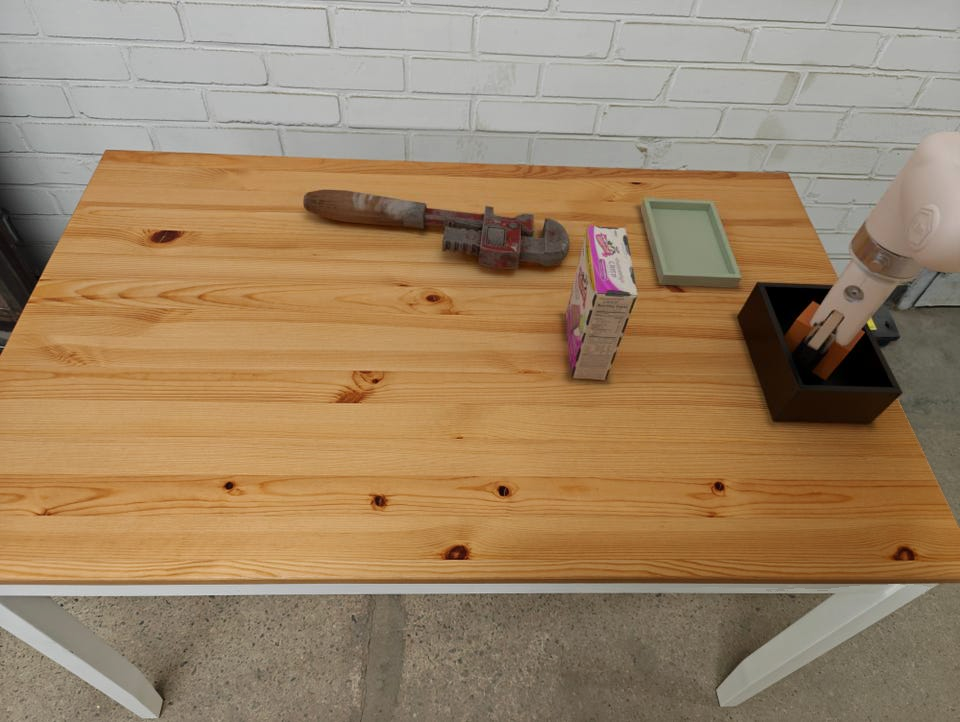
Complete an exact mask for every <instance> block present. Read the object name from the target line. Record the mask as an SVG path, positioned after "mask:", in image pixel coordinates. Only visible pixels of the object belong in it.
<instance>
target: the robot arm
mask: <svg viewBox="0 0 960 722" xmlns="http://www.w3.org/2000/svg"><path fill="white" fill-rule="evenodd" d="M848 252H849V255H850V257H851V260H850V261H849V263H848V264H847V265H846V267H845V268H844V269H843V271H842V273H841V274H840V275H839V277H838V278H836V281H835V282H834V284H832V285H833V287H832V288H831V290H830V291H829V293H828V294H827V296H826V297H825V299H824V300H823V302H822V303H821V305H820V306H819V308H818V310H817V311H816V313H815V314H814V316H813V318H812V319H811V321H810V325H811V327H813V326H814V328H813V329H812V330H811V332H810V333H809V334H808V335H807V337H806V336H805V337H804V338H803V339H802V341H801V342H800V343H799V345H798V346H797V347H796V349H795V350H794V351H793V353H792V354H791V355H792V358H793V360H794V362H796V363H797V364H799V365H801V366H802V367H804V368H805V369H807V370H808V371H813V370H814V369H815V368H816V366H817V365H818V364H819V363H820V361H821V360H822V359H823V358H824V356H825V355H826V354H827V353H828V352H829V351H828V350H827V349H828V348H829V347H830V345H831V344H832V343H833V342H834V340H835V339H836V342H837V343H838V344H840V345H841V346H845V345H848V344H849V343H850V342H851V341H852V339H853V338H854V337H855V336H856V335H857V333H858V332H859V331H860V330H861V329H862V328H863V326H864V325H865V324H866V323H867V324H868V322H869V321H870V319H871V318H872V317H873V316H874V314H875V313H876V312H877V311H878V310H879V309H880V308H881V307H882V306H883V304H884V303H885V302H886V301H887V300H888V298H889V297H890V296H891V294H892V293H893V292H894V290H895V289H896V288H897V287H898V286H899V284H900V283H907V282H911V281H913V280H915V279H916V278H918V277H919V275H920V274H921V273H922V272H923V271H924V270H929V271H932V272H939V273H947V274H960V131H955V130H954V131H953V130H946V131H939V132H935V133H932V134H930V135H928V136H927V137H925V138H923V140H922V141H920V142H919V143H918V145H917V146H916V147H915V149H914V150H913V151H912V153H911V154H910V156H909V157H908V158H907V160H906V161H905V163H904V164H903V166H902V167H901V168H900V170H898V173H897V174H896V175H895V177H894V179H893V180H892V181H891V183H890V184H889V186H888V187H887V188H886V190H885V191H884V193H883V194H882V196H881V197H880V199H879V200H878V201H877V203H876V204H875V206H874V207H873V209H872V210H871V211H870V213H869V214H868V215H867V217H866V219H865V220H864V222H862V224H861V226H860V227H859V229H858V230H857V232H856V233H855V234H854V236H853V237H852V239H851V240H850V241H849V244H848ZM823 321H825V323H823ZM835 328H836V329H837V331H836V330H835ZM817 330H819V331H818V332H817ZM816 332H817V333H816ZM815 333H816V334H815ZM814 334H815V335H814ZM828 336H829V337H831V338H830V339H829V341H828V342H827V343H826V342H824V341H825V340H826V339H827V337H828Z"/></svg>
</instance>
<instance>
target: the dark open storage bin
mask: <svg viewBox="0 0 960 722" xmlns="http://www.w3.org/2000/svg"><path fill="white" fill-rule="evenodd" d="M833 285H834V284H823V283H822V284H818V283H798V282H797V283H794V282H793V283H792V282H770V281H769V282H768V281H757V282H756V283H755V285H754V287H753V288H752V290H751V291H750V294H749V295H748V297H747V299H745V302H744V303H743V305H742V307H741V309H740V311H739V313H738V314H737V316H736V318H737V320H738V324H739V327H740V329H741V332H742V335H743V339H744V341H745V343H746V347H747V350H748V353H749V356H750V358H751V362H752V364H753V367H754V370H755V373H756V375H757V379H758V381H759V385H760V387H761V391H762V393H763V397H764V399H765V402H766V405H767V408H768V411H769V413H770V416H771V419H772V422H774V423H808V424H809V423H811V424H842V425H843V424H845V425H847V424H849V425H871V424H872V423H873V422H874V421H875V420H876V419H877V418H878V417H879V416H881V414H883V413H884V412H885V411H886V410H887V409H888V408H889V407H890V406H891V405H892V404H893V403H894V402H895V401H896V400H897V399H898V398H899V397H900V396H901V395H902V394H903V390H902V388H901V386H900V384H899V382H898V381H897V378H896V376H895V375H894V373H893V371H892V368H891V367H890V365H889V363H888V361H887V359H886V357H885V355H884V353H883V351H882V349H881V347H880V345H879V343H878V341H877V339H876V337H875V335H874V333H873V331H872V330H871V327H870V325H869V324H868V322H867V323H866V324H865V325H864V326H863V328H862V329H861V330H863V331H864V332H865V333H864V334H863V336H862V337H861V338H860V339H859V341H858V342H857V343H856V344H855V346H854V347H853V348H852V349H851V351H850V352H849V353H848V354H847V355H846V357H845V358H844V359H843V360H842V361H841V362H840V364H839V365H838V366H837V367H836V368H835V369H834V371H833V372H832V373H831V374H830V375H829V377H828V378H827V379H826V380H824V379H822V378H820V377H819V376H817V375H816V374H814V373H813V372H811V371H808V370H807V369H805V368H804V367H802V366H801V365H799V364H797V363H796V362H794V360H793V358H792V355H791V353H790V350H789V347H788V345H787V342H786V340H785V337H784V336H785V335H786V333H787V332H788V331H789V329H790V328H791V326H792V325H793V323H794V322H795V321H796V319H797V318H798V317H799V316H800V315H801V314H802V313H803V311H804V310H805V309H806V308H807V307H808V306H809V305H810V304H811V303H812V302H813V301H814V302H815V303H817V304H819V305H821V303H822V302H823V300H824V299H825V297H826V296H827V294H828V293H829V291H830V290H831V288H832V287H833Z"/></svg>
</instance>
